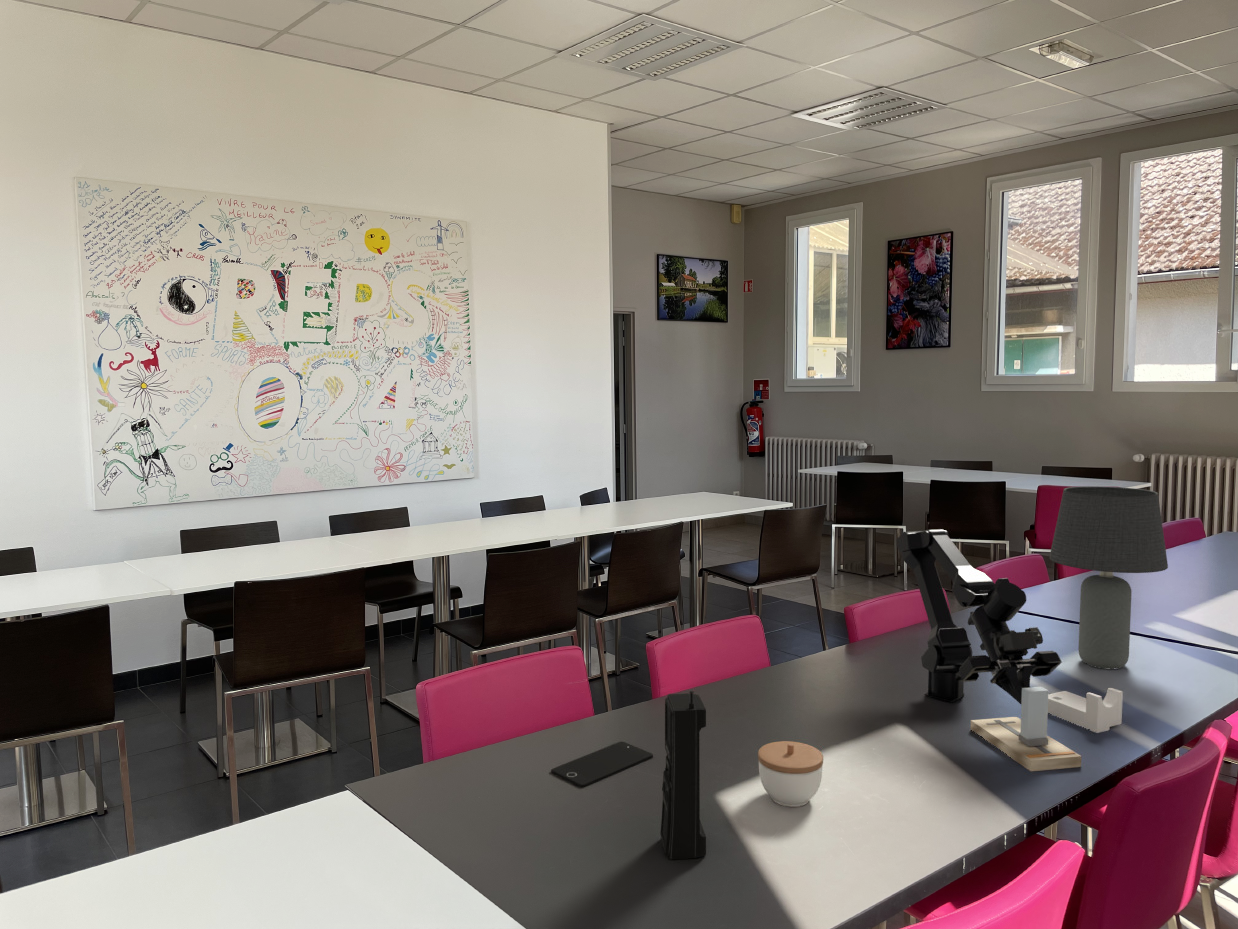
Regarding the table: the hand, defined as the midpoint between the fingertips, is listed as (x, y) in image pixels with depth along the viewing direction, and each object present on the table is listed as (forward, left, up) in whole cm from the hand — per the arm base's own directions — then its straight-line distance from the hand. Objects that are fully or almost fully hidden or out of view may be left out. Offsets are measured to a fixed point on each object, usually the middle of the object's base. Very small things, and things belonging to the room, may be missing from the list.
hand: (1028, 707), depth 162 cm
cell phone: (-53, -60, -9) cm, 81 cm away
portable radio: (-24, -71, -9) cm, 76 cm away
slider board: (-1, +1, -8) cm, 8 cm away
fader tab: (+2, -1, -6) cm, 6 cm away
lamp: (-6, +65, -8) cm, 65 cm away
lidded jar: (-21, -47, -9) cm, 52 cm away
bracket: (+2, +23, -9) cm, 25 cm away
